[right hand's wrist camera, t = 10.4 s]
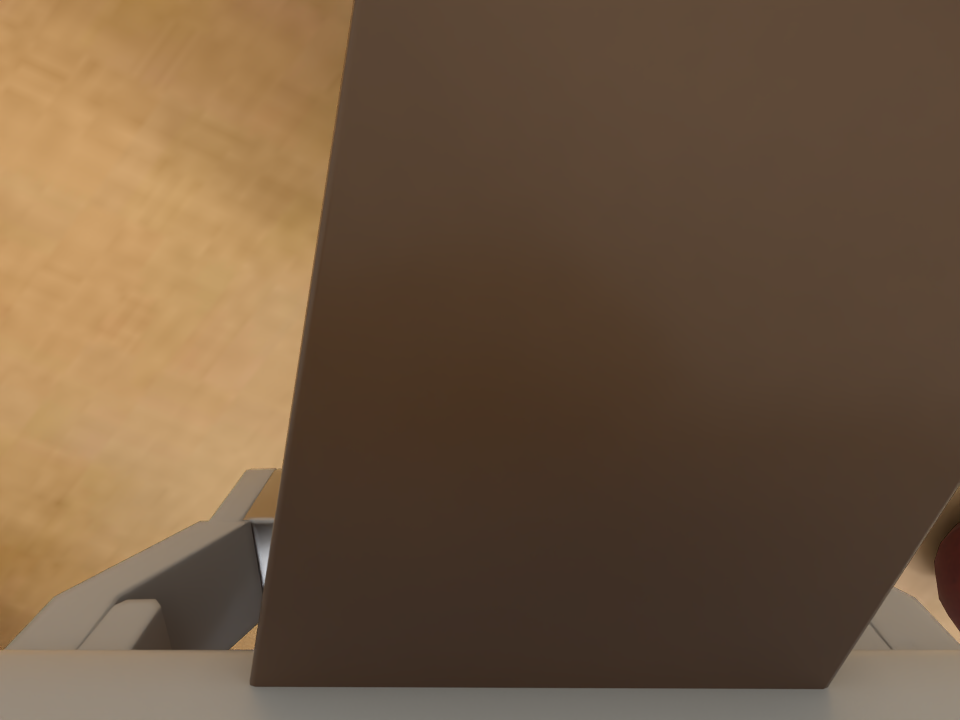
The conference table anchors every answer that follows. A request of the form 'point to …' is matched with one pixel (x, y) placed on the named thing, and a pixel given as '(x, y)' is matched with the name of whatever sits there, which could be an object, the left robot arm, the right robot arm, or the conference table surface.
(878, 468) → the bar
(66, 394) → the conference table surface
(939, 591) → the potato
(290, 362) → the conference table surface
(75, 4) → the conference table surface
